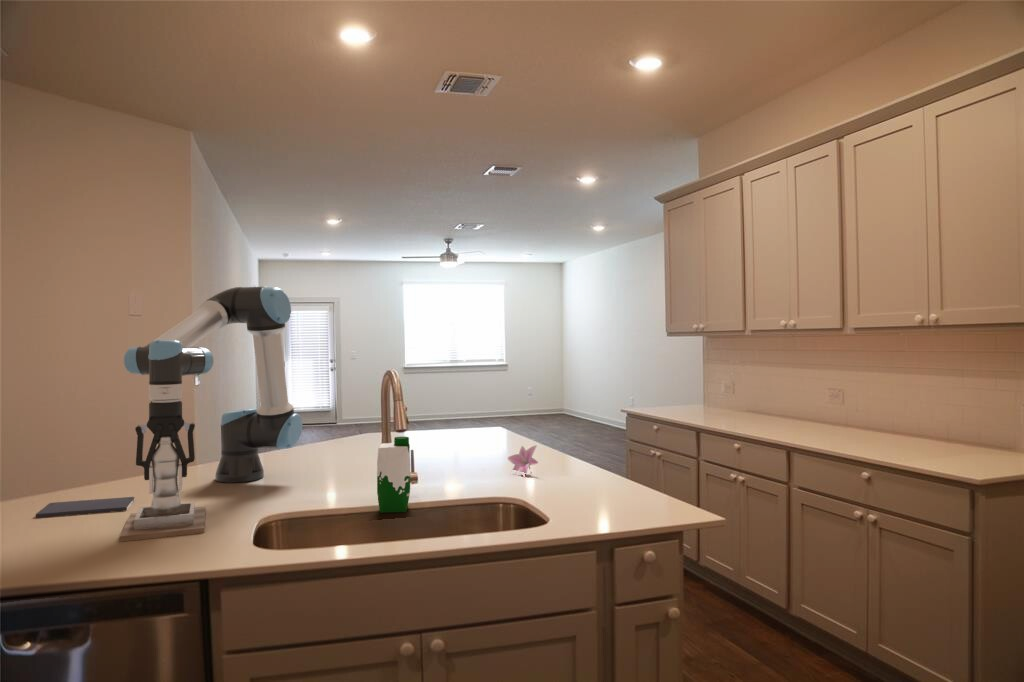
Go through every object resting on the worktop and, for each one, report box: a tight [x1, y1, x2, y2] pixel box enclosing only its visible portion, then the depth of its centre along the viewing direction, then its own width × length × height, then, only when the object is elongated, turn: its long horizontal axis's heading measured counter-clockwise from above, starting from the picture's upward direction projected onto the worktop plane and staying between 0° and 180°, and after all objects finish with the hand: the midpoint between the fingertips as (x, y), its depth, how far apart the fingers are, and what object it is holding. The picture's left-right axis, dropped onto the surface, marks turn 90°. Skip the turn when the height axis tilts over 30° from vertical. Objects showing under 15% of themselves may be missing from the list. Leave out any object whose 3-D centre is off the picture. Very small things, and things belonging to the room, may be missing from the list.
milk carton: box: [376, 436, 411, 514], centre depth 186 cm, size 9×9×20 cm
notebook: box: [35, 496, 135, 519], centre depth 186 cm, size 13×2×21 cm
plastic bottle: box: [151, 436, 181, 515], centre depth 170 cm, size 6×7×20 cm
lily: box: [507, 444, 539, 474], centre depth 234 cm, size 12×12×10 cm
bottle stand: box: [119, 501, 207, 543], centre depth 170 cm, size 22×18×4 cm
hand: (166, 491), depth 170 cm, fingers closed on plastic bottle, 6 cm apart
